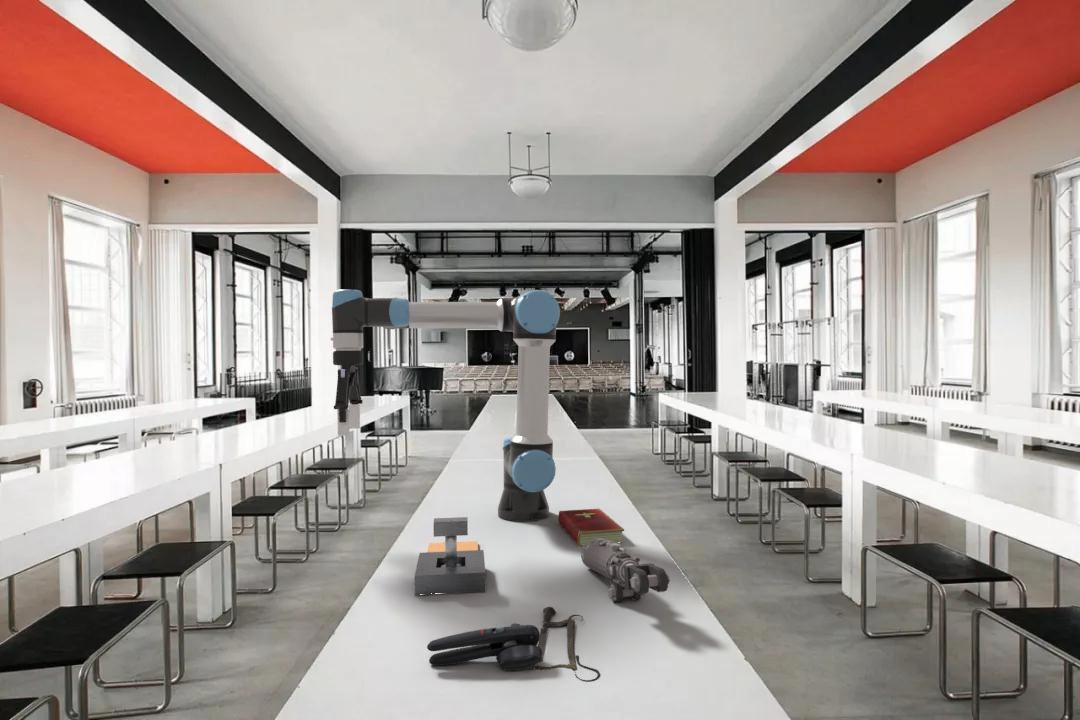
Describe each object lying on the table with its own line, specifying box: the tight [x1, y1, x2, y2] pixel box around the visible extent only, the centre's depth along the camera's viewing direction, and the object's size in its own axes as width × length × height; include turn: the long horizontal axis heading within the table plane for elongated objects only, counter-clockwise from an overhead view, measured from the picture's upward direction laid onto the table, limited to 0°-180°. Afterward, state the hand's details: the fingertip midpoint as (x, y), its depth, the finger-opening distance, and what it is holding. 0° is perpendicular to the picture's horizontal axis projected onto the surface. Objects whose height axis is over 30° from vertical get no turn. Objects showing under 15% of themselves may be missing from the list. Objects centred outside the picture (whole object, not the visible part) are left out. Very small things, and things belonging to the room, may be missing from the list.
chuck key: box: [433, 516, 469, 567], centre depth 130 cm, size 7×4×13 cm, turn 97°
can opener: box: [426, 622, 542, 672], centre depth 96 cm, size 18×7×6 cm, turn 93°
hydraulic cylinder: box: [580, 538, 671, 603], centre depth 124 cm, size 7×37×10 cm, turn 15°
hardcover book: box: [558, 508, 625, 547], centre depth 163 cm, size 12×21×4 cm, turn 12°
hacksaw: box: [531, 606, 601, 683], centre depth 102 cm, size 24×10×2 cm, turn 175°
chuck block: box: [414, 549, 487, 596], centre depth 130 cm, size 14×14×4 cm
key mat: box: [426, 540, 479, 552], centre depth 148 cm, size 12×12×1 cm
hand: (349, 431), depth 160 cm, fingers open, 13 cm apart
